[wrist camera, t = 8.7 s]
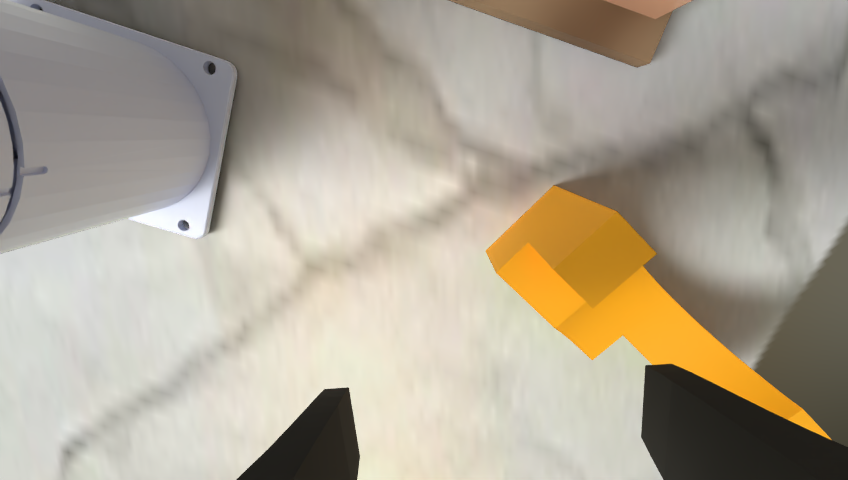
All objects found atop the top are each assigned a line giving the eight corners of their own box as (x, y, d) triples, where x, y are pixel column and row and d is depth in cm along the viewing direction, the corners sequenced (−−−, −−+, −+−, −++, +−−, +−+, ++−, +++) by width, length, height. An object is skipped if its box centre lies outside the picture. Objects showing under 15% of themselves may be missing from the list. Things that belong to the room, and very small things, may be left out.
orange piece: (485, 249, 19) (512, 306, 13) (552, 184, 18) (617, 211, 12) (641, 399, 21) (730, 510, 15) (709, 346, 20) (833, 441, 14)
